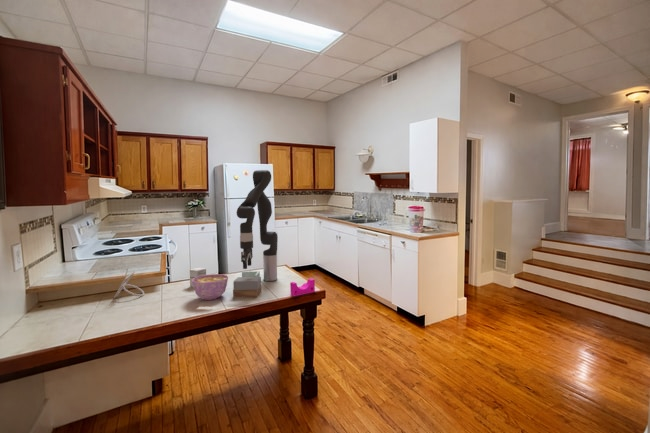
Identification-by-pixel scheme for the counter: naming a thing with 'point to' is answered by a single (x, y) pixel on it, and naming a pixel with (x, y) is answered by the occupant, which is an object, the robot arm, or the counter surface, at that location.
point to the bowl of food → (210, 286)
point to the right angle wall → (251, 274)
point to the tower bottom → (246, 293)
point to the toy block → (302, 288)
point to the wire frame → (128, 285)
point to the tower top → (247, 283)
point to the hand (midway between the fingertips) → (247, 267)
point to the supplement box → (196, 274)
